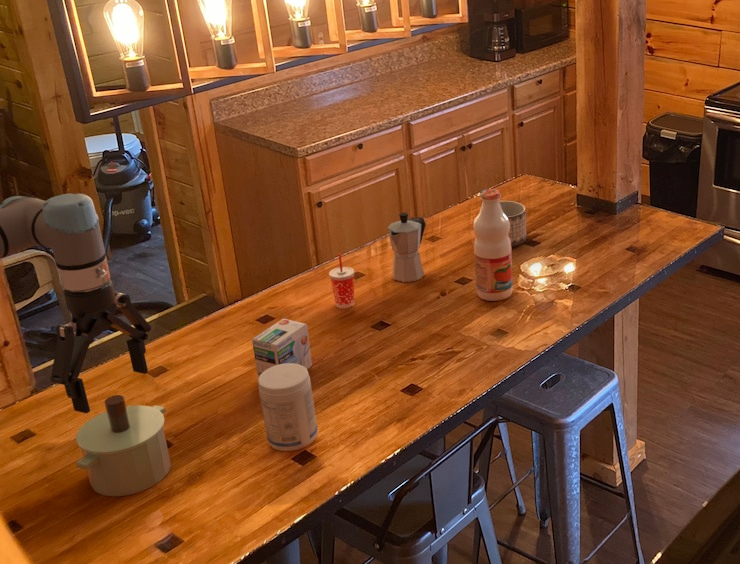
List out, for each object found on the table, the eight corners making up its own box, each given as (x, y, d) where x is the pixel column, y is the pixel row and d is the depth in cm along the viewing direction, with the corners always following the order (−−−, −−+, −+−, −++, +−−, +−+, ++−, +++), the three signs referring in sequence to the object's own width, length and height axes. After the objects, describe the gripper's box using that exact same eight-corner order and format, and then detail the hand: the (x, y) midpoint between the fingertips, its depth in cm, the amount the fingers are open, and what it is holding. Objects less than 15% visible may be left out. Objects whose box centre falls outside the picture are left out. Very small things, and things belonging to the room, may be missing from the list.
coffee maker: (408, 288, 248) (402, 224, 241) (380, 281, 251) (374, 219, 244) (440, 266, 260) (436, 205, 253) (413, 260, 264) (409, 200, 256)
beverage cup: (327, 304, 239) (321, 254, 234) (348, 296, 244) (342, 246, 238) (342, 312, 236) (336, 261, 230) (362, 303, 240) (357, 253, 234)
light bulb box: (282, 389, 204) (275, 345, 199) (257, 382, 206) (250, 339, 201) (313, 365, 213) (308, 322, 208) (289, 359, 215) (283, 317, 211)
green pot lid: (58, 447, 169) (49, 413, 166) (120, 404, 182) (113, 372, 179) (123, 464, 165) (115, 430, 162) (182, 419, 178) (176, 386, 175)
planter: (531, 235, 280) (531, 203, 276) (518, 253, 269) (517, 219, 264) (491, 231, 283) (489, 199, 278) (476, 248, 271) (474, 214, 267)
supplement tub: (297, 419, 193) (288, 356, 187) (328, 435, 188) (320, 371, 182) (257, 442, 186) (246, 378, 180) (288, 459, 181) (278, 394, 175)
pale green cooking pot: (61, 496, 171) (49, 452, 167) (139, 437, 187) (130, 396, 184) (122, 512, 167) (111, 468, 163) (196, 451, 183) (188, 409, 180)
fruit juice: (484, 283, 251) (479, 184, 240) (518, 288, 249) (514, 187, 237) (470, 299, 243) (465, 196, 231) (505, 304, 240) (501, 200, 229)
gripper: (43, 320, 149) (73, 433, 158) (158, 258, 171) (179, 360, 179) (6, 313, 152) (38, 424, 160) (124, 252, 173) (147, 353, 182)
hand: (112, 390), depth 170 cm, fingers open, 13 cm apart
